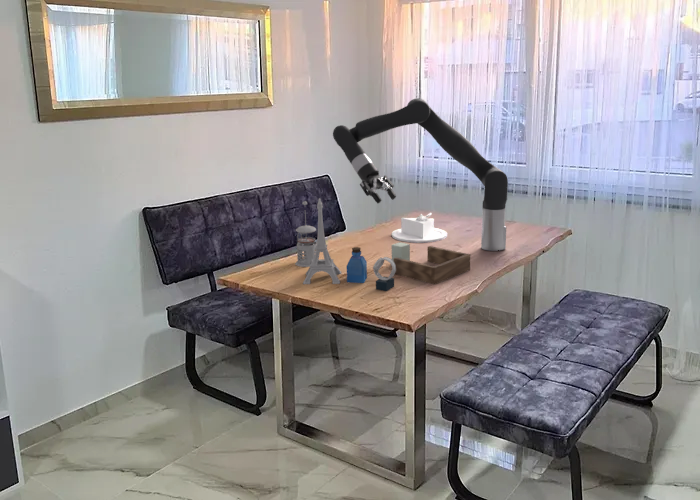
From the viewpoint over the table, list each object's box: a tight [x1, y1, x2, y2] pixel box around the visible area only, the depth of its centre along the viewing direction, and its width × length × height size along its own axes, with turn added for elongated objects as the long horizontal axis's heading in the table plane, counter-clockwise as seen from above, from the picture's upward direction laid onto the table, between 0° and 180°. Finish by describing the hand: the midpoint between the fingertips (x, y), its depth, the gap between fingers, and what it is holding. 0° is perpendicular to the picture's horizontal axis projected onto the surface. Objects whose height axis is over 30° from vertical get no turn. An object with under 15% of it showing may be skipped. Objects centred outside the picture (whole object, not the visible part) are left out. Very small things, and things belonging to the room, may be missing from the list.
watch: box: [372, 256, 396, 292], centre depth 235 cm, size 6×8×11 cm
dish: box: [391, 212, 448, 244], centre depth 303 cm, size 25×25×11 cm
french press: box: [294, 200, 317, 268], centre depth 265 cm, size 10×12×25 cm
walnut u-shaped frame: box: [394, 245, 471, 285], centre depth 252 cm, size 19×22×6 cm
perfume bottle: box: [346, 246, 368, 284], centre depth 244 cm, size 6×6×12 cm
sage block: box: [391, 241, 411, 261], centre depth 262 cm, size 5×5×8 cm
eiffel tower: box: [302, 198, 342, 285], centre depth 245 cm, size 13×13×30 cm
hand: (387, 200), depth 261 cm, fingers open, 8 cm apart
